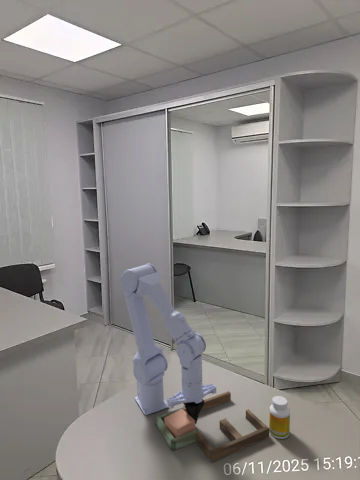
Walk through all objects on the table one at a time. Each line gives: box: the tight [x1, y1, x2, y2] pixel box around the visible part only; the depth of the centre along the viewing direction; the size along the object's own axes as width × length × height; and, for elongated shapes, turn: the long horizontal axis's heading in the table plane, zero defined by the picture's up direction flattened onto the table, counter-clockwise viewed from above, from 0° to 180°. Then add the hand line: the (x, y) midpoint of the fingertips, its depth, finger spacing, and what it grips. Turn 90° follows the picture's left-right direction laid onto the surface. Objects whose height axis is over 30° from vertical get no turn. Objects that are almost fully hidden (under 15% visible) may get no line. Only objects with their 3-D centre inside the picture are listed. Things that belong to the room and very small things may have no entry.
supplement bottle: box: [268, 395, 291, 440], centre depth 95 cm, size 5×5×10 cm
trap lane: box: [155, 391, 270, 463], centre depth 97 cm, size 19×25×2 cm
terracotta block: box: [164, 409, 196, 438], centre depth 96 cm, size 6×6×4 cm
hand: (193, 422), depth 99 cm, fingers closed
